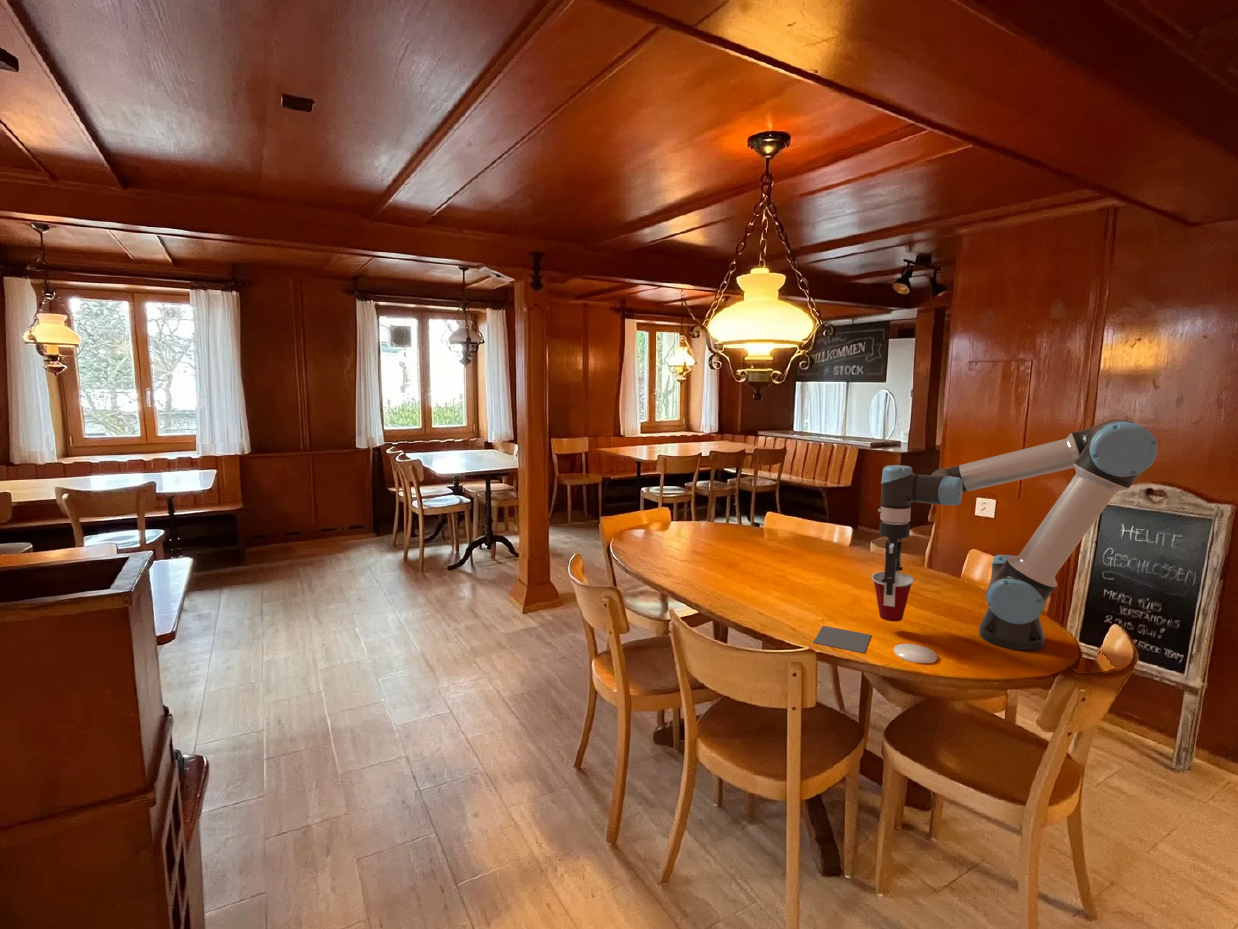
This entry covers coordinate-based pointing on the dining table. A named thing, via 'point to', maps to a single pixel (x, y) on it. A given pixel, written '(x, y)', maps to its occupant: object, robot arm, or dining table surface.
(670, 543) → the dining table surface
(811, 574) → the dining table surface
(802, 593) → the dining table surface
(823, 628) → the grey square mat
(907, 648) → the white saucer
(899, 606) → the plastic cup
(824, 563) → the dining table surface
